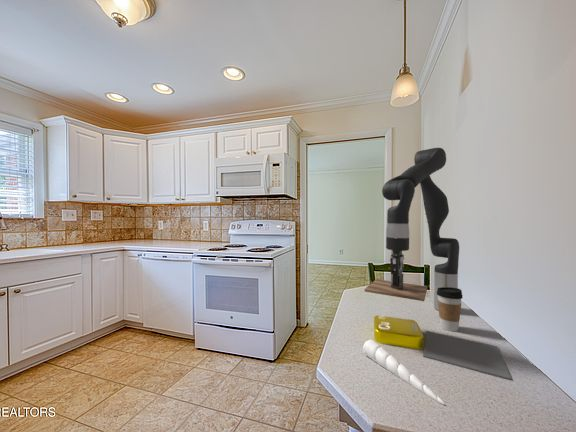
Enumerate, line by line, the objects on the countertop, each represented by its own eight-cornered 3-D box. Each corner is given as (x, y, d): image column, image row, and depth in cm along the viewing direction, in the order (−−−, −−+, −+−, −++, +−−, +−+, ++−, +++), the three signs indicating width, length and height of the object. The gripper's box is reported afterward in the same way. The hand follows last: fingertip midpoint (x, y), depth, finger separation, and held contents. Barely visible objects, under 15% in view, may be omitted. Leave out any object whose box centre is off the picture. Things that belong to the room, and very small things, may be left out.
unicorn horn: (433, 412, 54) (433, 389, 54) (361, 355, 76) (361, 339, 76) (448, 406, 55) (448, 384, 56) (373, 352, 77) (374, 337, 78)
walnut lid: (376, 281, 101) (376, 266, 101) (427, 288, 92) (427, 272, 92) (364, 291, 86) (364, 274, 86) (424, 301, 76) (424, 282, 76)
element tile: (424, 351, 79) (424, 336, 79) (374, 343, 83) (374, 329, 84) (416, 331, 93) (416, 318, 93) (373, 325, 98) (373, 313, 98)
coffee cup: (466, 334, 91) (467, 292, 91) (441, 331, 93) (441, 290, 93) (456, 324, 99) (456, 286, 100) (432, 322, 101) (433, 285, 101)
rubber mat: (426, 332, 92) (426, 330, 92) (497, 347, 82) (497, 346, 82) (423, 356, 75) (423, 355, 75) (511, 380, 65) (511, 378, 65)
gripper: (389, 235, 97) (389, 279, 97) (382, 236, 85) (381, 287, 85) (411, 236, 93) (410, 282, 93) (406, 237, 81) (406, 291, 81)
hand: (396, 284), depth 89 cm, fingers closed on walnut lid, 4 cm apart
